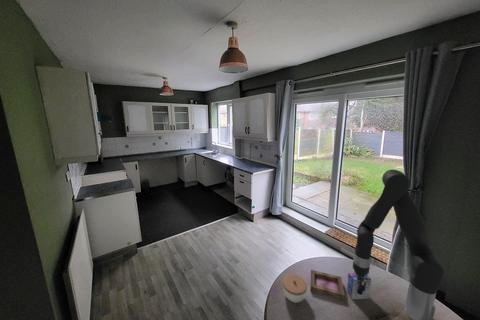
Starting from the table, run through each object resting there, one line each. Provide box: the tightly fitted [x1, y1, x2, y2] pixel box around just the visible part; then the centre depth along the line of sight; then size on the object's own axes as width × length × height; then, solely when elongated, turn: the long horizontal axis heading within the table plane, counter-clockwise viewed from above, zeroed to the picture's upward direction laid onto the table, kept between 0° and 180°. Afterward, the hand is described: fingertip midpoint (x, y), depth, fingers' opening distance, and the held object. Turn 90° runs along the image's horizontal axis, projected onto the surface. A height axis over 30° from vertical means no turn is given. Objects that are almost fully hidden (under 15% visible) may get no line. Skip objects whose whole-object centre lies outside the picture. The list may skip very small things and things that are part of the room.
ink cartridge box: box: [346, 271, 372, 300], centre depth 104 cm, size 10×6×14 cm, turn 91°
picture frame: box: [309, 269, 345, 302], centre depth 111 cm, size 17×13×4 cm
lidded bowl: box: [282, 273, 308, 304], centre depth 104 cm, size 13×13×11 cm
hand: (358, 288), depth 105 cm, fingers closed on ink cartridge box, 6 cm apart
